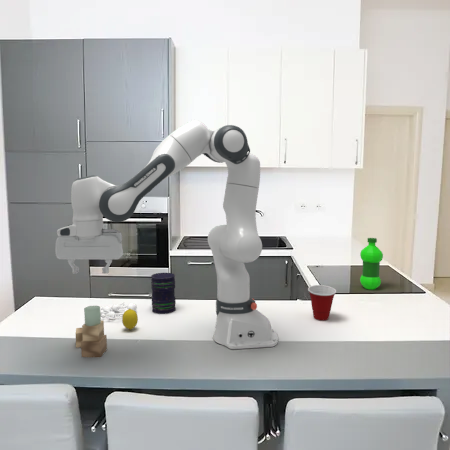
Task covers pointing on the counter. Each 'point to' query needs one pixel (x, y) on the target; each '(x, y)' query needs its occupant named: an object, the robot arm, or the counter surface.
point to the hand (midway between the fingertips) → (90, 273)
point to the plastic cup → (321, 301)
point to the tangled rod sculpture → (115, 308)
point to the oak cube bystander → (78, 337)
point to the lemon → (130, 319)
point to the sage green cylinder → (92, 315)
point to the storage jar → (163, 293)
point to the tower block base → (94, 347)
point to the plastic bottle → (371, 265)
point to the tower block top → (93, 332)
